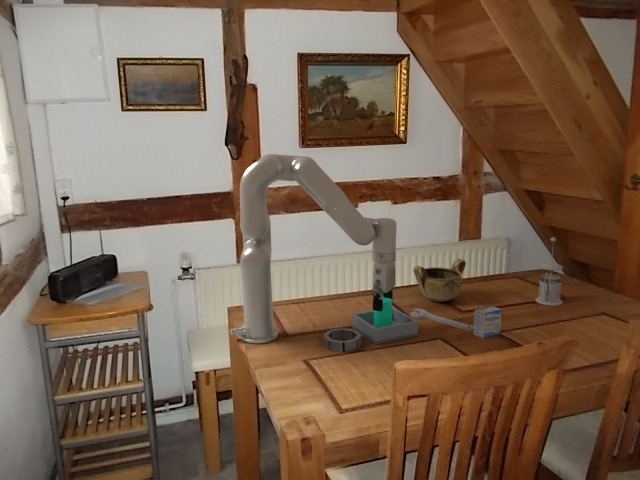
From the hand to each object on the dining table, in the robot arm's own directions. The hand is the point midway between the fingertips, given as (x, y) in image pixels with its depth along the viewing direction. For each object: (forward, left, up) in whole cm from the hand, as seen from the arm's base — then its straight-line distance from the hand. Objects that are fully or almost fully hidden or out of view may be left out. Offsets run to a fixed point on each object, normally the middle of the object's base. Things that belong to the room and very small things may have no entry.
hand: (382, 306), depth 187 cm
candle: (0, 0, -8) cm, 8 cm away
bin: (0, 0, -9) cm, 9 cm away
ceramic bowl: (+36, +19, -9) cm, 42 cm away
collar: (-17, -3, -9) cm, 19 cm away
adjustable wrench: (+22, -1, -10) cm, 24 cm away
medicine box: (+29, -17, -9) cm, 35 cm away
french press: (+71, -2, -9) cm, 72 cm away
